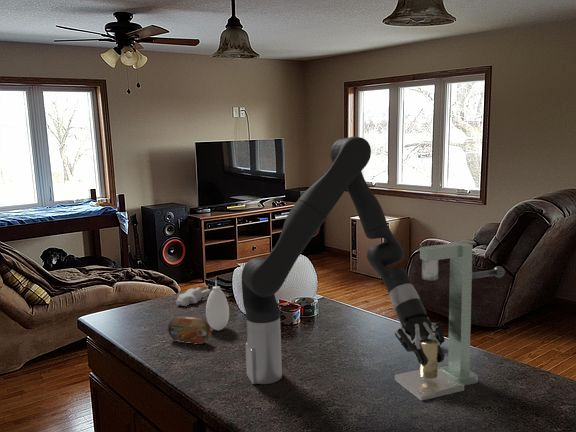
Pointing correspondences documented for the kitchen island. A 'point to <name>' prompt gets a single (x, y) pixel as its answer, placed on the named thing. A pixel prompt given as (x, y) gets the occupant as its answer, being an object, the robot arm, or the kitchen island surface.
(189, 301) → the bunny figurine
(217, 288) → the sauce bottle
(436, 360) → the housing
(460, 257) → the press bed
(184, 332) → the tin
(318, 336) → the kitchen island surface
